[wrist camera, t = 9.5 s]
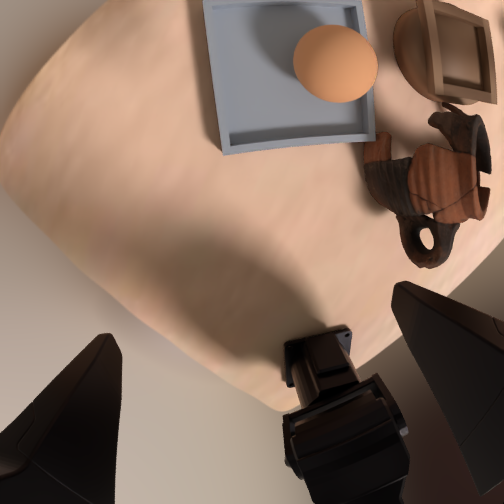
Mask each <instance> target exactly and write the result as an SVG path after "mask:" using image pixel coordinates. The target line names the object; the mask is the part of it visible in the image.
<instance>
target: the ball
mask: <svg viewBox="0 0 504 504" xmlns="http://www.w3.org/2000/svg"><path fill="white" fill-rule="evenodd" d="M293 66H294V70H295V73H296V76H297V78H298V80H299V81H300V83H301V84H302V85H303V87H304V88H305V89H306V90H307V91H308V92H310V93H311V94H312V95H314V96H316V97H317V98H320V99H322V100H325V101H328V102H334V103H345V102H349V101H353V100H356V99H358V98H360V97H361V96H363V95H364V94H365V93H366V92H368V91H369V89H370V88H371V87H372V85H373V83H374V81H375V79H376V76H377V70H378V63H377V58H376V55H375V52H374V50H373V48H372V46H371V45H370V43H369V42H368V41H367V40H366V39H365V38H364V37H363V36H362V35H361V34H359V33H358V32H356V31H355V30H353V29H351V28H348V27H345V26H341V25H323V26H319V27H316V28H314V29H312V30H310V31H309V32H307V33H306V34H305V35H304V36H303V37H302V38H301V39H300V40H299V42H298V44H297V46H296V48H295V51H294V56H293Z"/></svg>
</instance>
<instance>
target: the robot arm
mask: <svg viewBox="0 0 504 504" xmlns="http://www.w3.org/2000/svg"><path fill="white" fill-rule="evenodd" d="M391 308H392V311H393V314H394V316H395V318H396V320H397V322H398V325H399V327H400V329H401V331H402V334H403V336H404V338H405V341H406V343H407V345H408V347H409V349H410V351H411V353H412V355H413V356H414V358H415V360H416V362H417V363H418V365H419V367H420V369H421V371H422V373H423V374H424V376H425V378H426V380H427V382H428V384H429V386H430V388H431V390H432V391H433V394H434V396H435V398H436V399H437V401H438V403H439V405H440V407H441V409H442V411H443V413H444V416H445V418H446V420H447V422H448V424H449V426H450V428H451V430H452V432H453V434H454V436H455V439H456V441H457V443H458V445H459V446H460V450H461V452H462V455H463V457H464V459H465V462H466V464H467V466H468V469H469V471H470V473H471V476H472V478H473V481H474V483H475V485H476V488H477V491H478V493H479V495H480V496H482V495H484V494H485V493H487V492H488V491H490V490H491V489H492V488H494V487H495V486H496V485H497V484H499V483H500V482H502V481H503V480H504V321H501V320H499V319H497V318H495V317H492V316H490V315H488V314H485V313H483V312H481V311H478V310H476V309H474V308H471V307H469V306H467V305H464V304H462V303H459V302H457V301H455V300H452V299H450V298H448V297H445V296H443V295H440V294H438V293H435V292H433V291H431V290H428V289H426V288H423V287H421V286H418V285H416V284H413V283H411V282H409V281H402V282H398V283H396V284H395V285H394V289H393V295H392V301H391ZM351 339H352V332H351V330H350V329H349V328H346V329H342V330H338V331H334V332H329V333H325V334H321V335H316V336H312V337H307V338H302V339H297V340H293V341H288V342H286V343H285V344H284V346H283V347H284V361H285V376H286V385H287V387H289V388H291V387H295V388H296V391H297V394H298V398H299V401H300V404H301V407H302V409H301V410H298V411H295V412H293V413H291V414H289V413H288V414H285V415H283V424H282V426H283V437H284V448H285V464H286V466H288V467H290V468H292V469H293V471H294V473H295V474H296V476H297V477H298V478H299V479H301V480H302V479H304V481H305V483H306V485H307V488H308V490H309V493H310V496H311V499H312V501H313V503H315V504H404V502H403V500H402V493H403V489H404V484H405V480H406V476H407V475H408V471H409V462H410V461H409V460H410V455H409V453H408V450H407V448H406V446H405V443H404V441H403V438H402V437H403V436H405V435H406V434H408V429H407V425H406V423H405V420H404V418H403V415H402V413H401V411H400V409H399V407H398V405H397V403H396V401H395V400H394V398H393V397H392V395H391V393H390V392H389V390H388V389H387V387H386V386H385V384H384V382H383V381H382V379H381V378H380V377H379V375H378V373H375V374H373V375H372V377H370V378H368V379H366V380H364V381H361V379H360V377H359V375H358V373H357V371H356V369H355V367H354V365H353V363H352V361H351V359H350V357H349V355H350V347H351ZM289 346H290V347H289ZM121 400H122V353H121V351H120V349H119V347H118V345H117V343H116V341H115V339H114V337H113V335H112V334H111V333H104V334H99V335H98V336H97V337H95V338H94V339H93V340H92V341H91V342H90V343H89V344H88V345H87V346H86V347H85V349H83V350H82V351H81V352H80V353H79V354H78V355H77V356H76V357H75V358H74V359H73V360H72V361H71V362H70V363H69V364H68V365H67V366H66V367H65V368H64V369H63V370H62V371H61V372H60V373H59V374H58V375H57V376H56V377H55V378H54V379H53V380H52V381H51V383H50V384H49V385H47V387H46V388H45V389H44V390H43V391H42V392H41V393H40V394H39V395H38V396H37V397H36V398H35V399H34V400H33V402H31V403H30V404H29V405H28V406H27V407H26V409H25V410H24V411H23V412H22V413H21V414H20V415H19V416H18V417H17V418H16V419H15V420H14V421H13V422H12V423H11V424H9V425H8V426H7V427H6V428H5V429H4V430H3V431H2V432H1V433H0V504H115V475H116V474H115V473H116V455H117V442H118V430H119V419H120V410H121ZM503 504H504V503H503Z"/></svg>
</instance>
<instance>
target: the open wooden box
mask: <svg viewBox="0 0 504 504" xmlns="http://www.w3.org/2000/svg"><path fill="white" fill-rule="evenodd" d="M416 3H417V8H415V9H412V10H409V11H407V12H405V13H404V14H403V15H402V16H401V17H400V18H399V19H398V21H397V23H396V26H395V29H394V34H393V45H394V52H395V56H396V60H397V62H398V65H399V67H400V69H401V72H402V73H403V75H404V77H405V78H406V80H407V81H408V82H409V84H410V85H411V86H412V87H413V88H414V89H415V90H416V91H417V92H418V93H419V94H421V95H422V96H424V97H426V98H427V99H430V100H433V101H437V102H446V103H453V104H460V105H471V104H474V103H476V102H478V101H481V102H486V103H491V104H497V87H496V73H495V62H494V53H493V46H492V39H491V32H490V27H489V21H488V20H486V19H484V18H481V17H479V16H477V15H474V14H472V13H469V12H467V11H464V10H462V9H460V8H458V7H456V6H454V5H452V4H449V3H445V2H440V1H437V0H416Z"/></svg>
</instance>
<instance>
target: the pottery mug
mask: <svg viewBox="0 0 504 504" xmlns="http://www.w3.org/2000/svg"><path fill="white" fill-rule="evenodd" d="M442 106H443V107H445V108H446V109H449V110H450V111H451V112H444V113H440V112H434V113H433V114H432V115H431V116H430V118H429V119H428V124H429V125H430V126H432V127H434V128H437V129H439V130H440V132H441V133H442V134H443V135H444V136H445V137H446V139H447V140H448V141H449V143H450V145H451V147H452V149H453V151H451V150H449V149H444V148H442V147H439V146H435V145H433V144H430V143H427V144H425V145H421V146H420V147H418V148H417V149H416V151H415V153H414V155H413V157H412V158H411V157H406V158H403V159H398V160H391V153H390V151H391V138H392V136H391V134H390V133H388V132H381V133H379V134H376V141H367V142H365V144H364V170H365V179H366V182H367V185H368V189H369V191H370V193H371V195H372V196H373V197H374V199H375V200H376V201H377V202H378V203H379V204H381V205H383V206H384V207H386V208H387V209H389V210H390V211H392V212H394V213H395V214H396V218H397V220H398V222H399V228H400V237H401V242H402V245H403V248H404V250H405V252H406V254H407V256H408V257H409V259H410V260H411V261H412V262H413V263H414V264H415V265H417V266H418V267H419V268H423V267H426V268H428V269H432V268H435V267H438V266H440V265H441V264H443V263H444V262H445V261H446V260H447V259H448V257H449V255H450V252H451V250H452V246H453V241H454V236H455V233H456V232H457V230H458V229H459V227H460V223H463V222H465V221H467V220H468V218H472V219H477V220H479V221H480V220H482V219H483V218H484V216H485V214H486V211H487V207H488V201H489V196H490V188H488V187H480V171H482V172H484V173H488V174H491V171H492V170H491V155H490V145H489V140H488V136H487V132H486V128H485V125H484V123H483V120H482V118H481V117H480V115H477V114H476V115H473V116H469V115H466V114H465V113H463V112H462V110H460V109H458V108H457V107H455V106H453V105H452V104H449V103H446V102H442ZM430 213H433V218H434V219H432V218H430V217H428V216H426V215H424V214H430ZM423 228H429V229H430V231H431V233H432V235H433V238H434V246H433V248H432V249H431V250H429V249H427V248H426V247H425V246H424V245H423V243H422V241H421V239H420V231H421V230H422V229H423Z"/></svg>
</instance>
